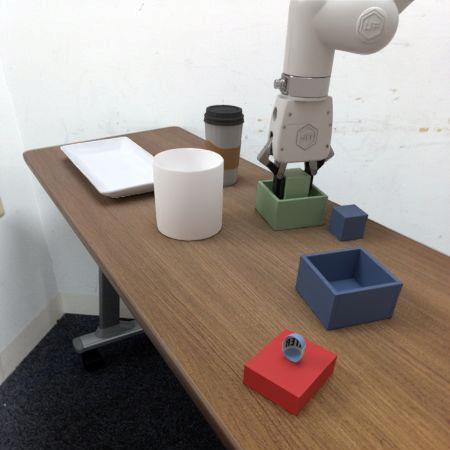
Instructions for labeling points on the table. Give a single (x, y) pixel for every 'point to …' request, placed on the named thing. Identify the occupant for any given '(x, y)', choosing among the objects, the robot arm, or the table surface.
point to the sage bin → (290, 208)
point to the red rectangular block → (289, 370)
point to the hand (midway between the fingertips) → (291, 194)
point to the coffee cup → (225, 137)
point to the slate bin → (347, 287)
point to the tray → (113, 165)
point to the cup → (188, 193)
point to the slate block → (347, 222)
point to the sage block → (296, 183)
